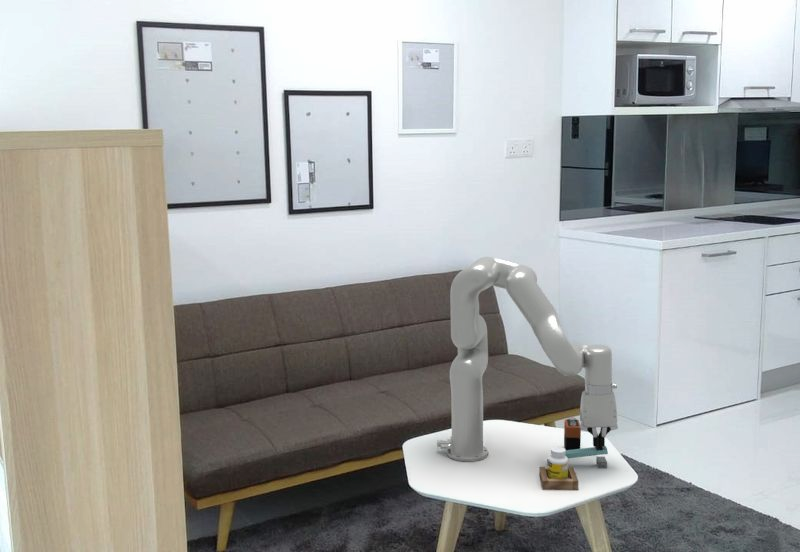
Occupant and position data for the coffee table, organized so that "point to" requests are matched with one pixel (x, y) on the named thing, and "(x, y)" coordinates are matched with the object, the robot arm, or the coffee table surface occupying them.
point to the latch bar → (585, 452)
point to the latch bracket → (599, 462)
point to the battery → (572, 434)
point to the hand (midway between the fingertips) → (598, 448)
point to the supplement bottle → (558, 464)
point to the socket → (558, 480)
